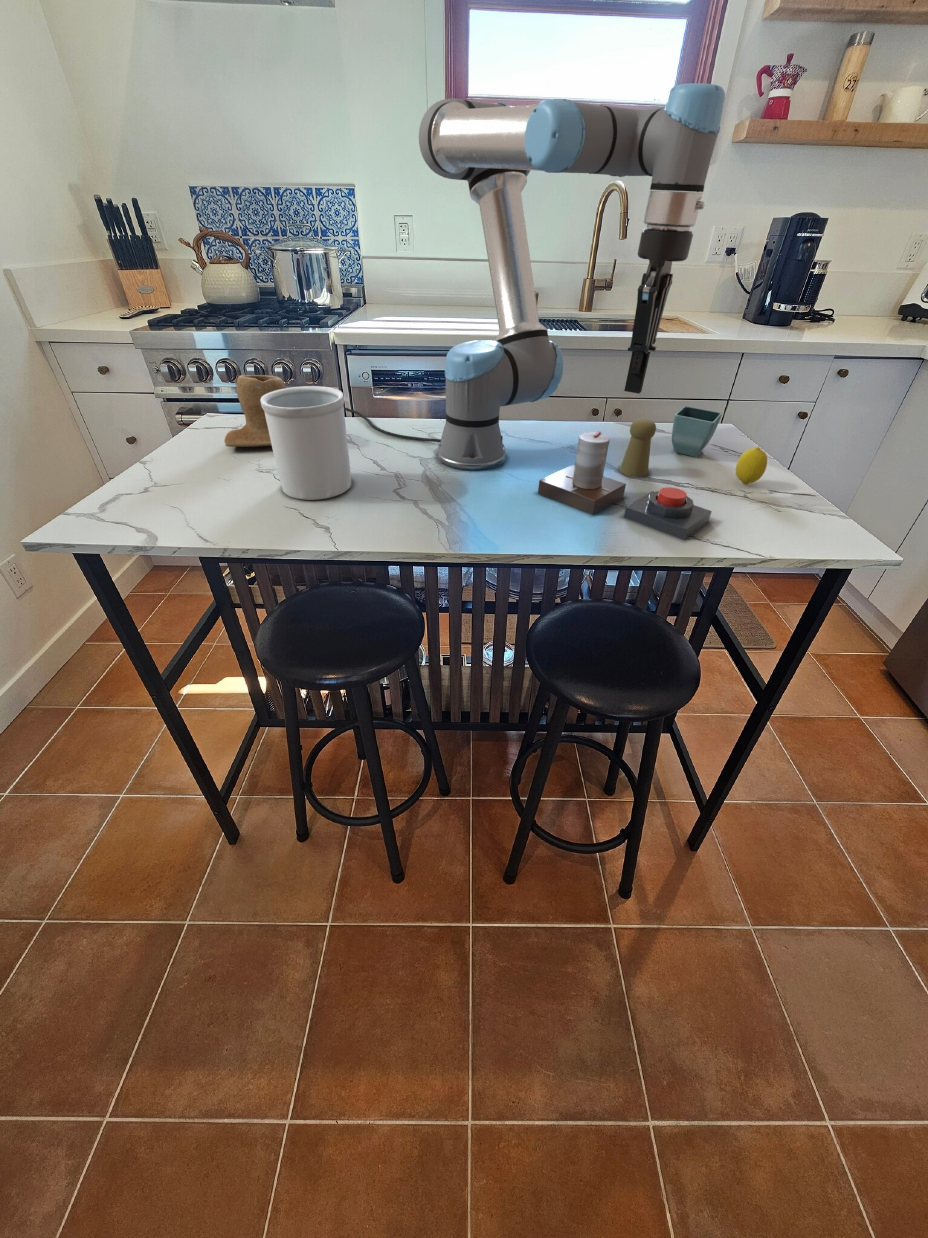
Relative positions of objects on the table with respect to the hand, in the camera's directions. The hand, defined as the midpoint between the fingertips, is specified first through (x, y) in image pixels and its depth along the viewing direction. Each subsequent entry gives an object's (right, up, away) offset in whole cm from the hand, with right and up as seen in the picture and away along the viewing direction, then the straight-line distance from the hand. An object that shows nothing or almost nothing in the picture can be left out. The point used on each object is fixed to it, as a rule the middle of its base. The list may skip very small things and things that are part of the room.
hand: (632, 391), depth 97 cm
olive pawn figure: (+7, -8, +23) cm, 25 cm away
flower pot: (+23, -1, +33) cm, 40 cm away
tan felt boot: (-77, +1, +32) cm, 84 cm away
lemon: (+29, -12, +18) cm, 37 cm away
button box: (+8, -22, +5) cm, 24 cm away
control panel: (-7, -16, +12) cm, 21 cm away
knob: (-6, -14, +10) cm, 18 cm away
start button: (+8, -19, +3) cm, 21 cm away
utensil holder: (-60, -14, +14) cm, 63 cm away
